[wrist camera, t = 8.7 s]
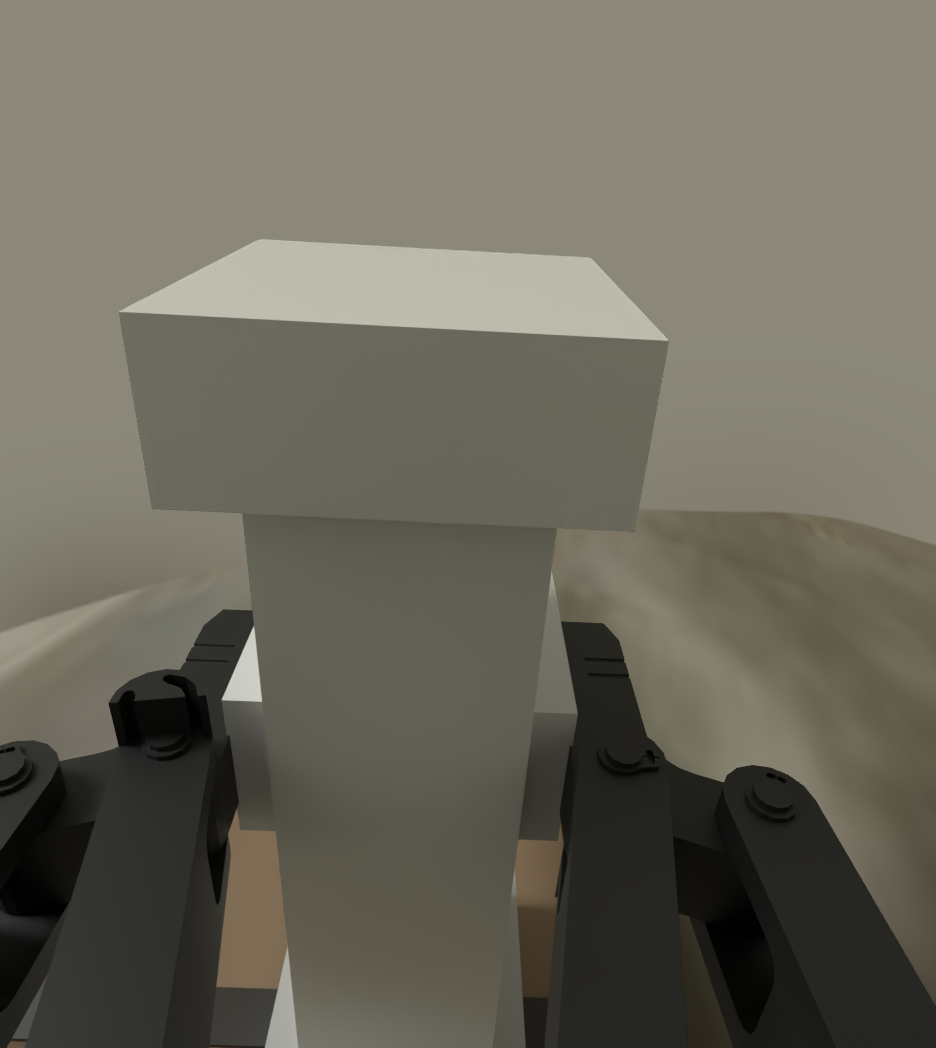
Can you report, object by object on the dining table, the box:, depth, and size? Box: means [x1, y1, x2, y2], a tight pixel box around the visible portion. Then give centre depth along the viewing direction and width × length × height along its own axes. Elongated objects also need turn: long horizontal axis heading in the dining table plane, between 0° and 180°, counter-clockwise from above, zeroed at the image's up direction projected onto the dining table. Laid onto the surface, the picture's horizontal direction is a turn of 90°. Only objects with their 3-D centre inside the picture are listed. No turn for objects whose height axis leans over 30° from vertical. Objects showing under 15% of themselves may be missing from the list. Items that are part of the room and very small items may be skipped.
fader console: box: [7, 810, 564, 1048], centre depth 17 cm, size 26×12×3 cm, turn 90°
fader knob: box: [119, 239, 669, 1048], centre depth 13 cm, size 5×6×16 cm
